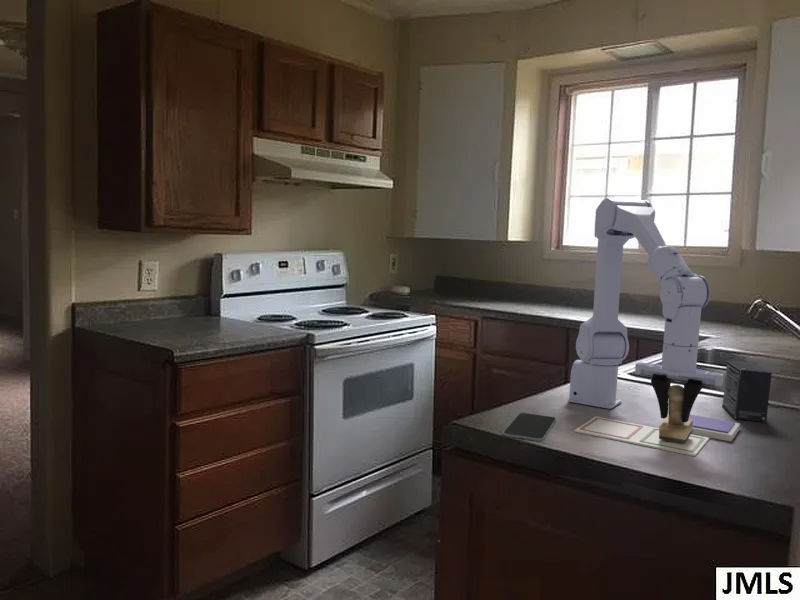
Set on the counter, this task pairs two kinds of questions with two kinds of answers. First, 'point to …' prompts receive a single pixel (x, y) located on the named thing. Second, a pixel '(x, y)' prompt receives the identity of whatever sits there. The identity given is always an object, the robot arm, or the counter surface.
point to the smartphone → (530, 426)
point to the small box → (746, 391)
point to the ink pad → (714, 428)
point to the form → (640, 435)
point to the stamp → (675, 418)
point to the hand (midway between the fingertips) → (674, 419)
